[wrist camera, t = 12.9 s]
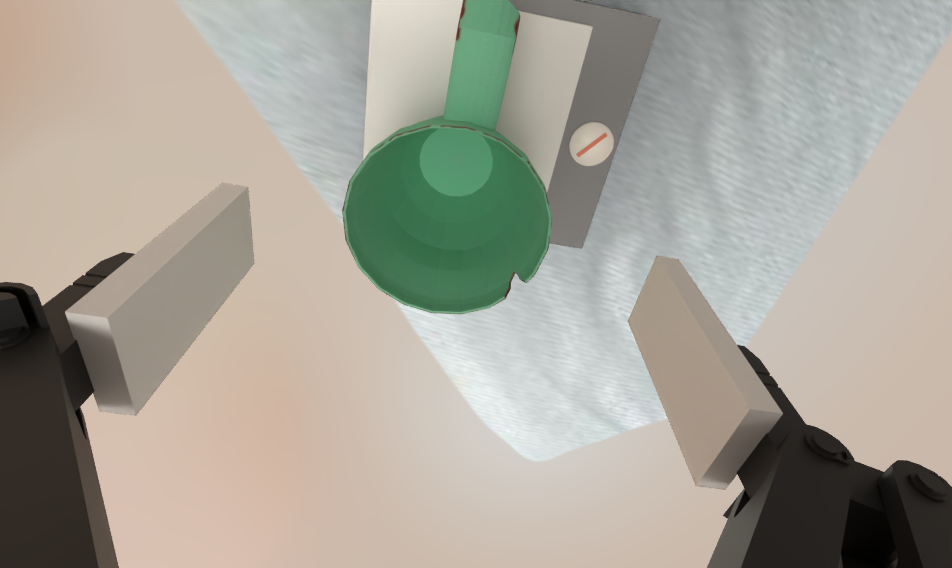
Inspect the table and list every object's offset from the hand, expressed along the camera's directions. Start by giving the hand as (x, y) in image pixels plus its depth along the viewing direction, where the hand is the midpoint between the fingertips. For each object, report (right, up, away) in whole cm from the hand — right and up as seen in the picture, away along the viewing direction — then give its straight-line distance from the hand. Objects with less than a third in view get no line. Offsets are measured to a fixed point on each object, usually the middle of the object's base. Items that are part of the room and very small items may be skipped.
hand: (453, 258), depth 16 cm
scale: (+2, +11, +17) cm, 21 cm away
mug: (0, +9, +14) cm, 17 cm away
